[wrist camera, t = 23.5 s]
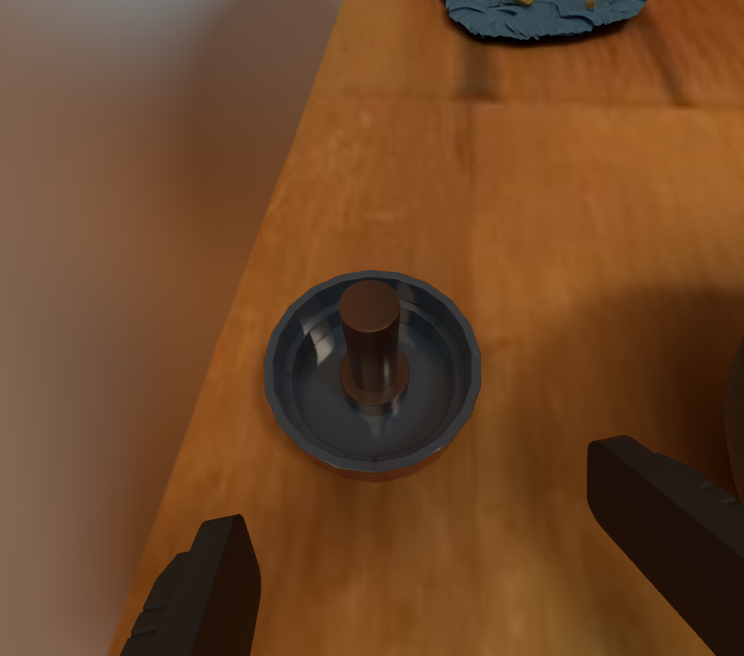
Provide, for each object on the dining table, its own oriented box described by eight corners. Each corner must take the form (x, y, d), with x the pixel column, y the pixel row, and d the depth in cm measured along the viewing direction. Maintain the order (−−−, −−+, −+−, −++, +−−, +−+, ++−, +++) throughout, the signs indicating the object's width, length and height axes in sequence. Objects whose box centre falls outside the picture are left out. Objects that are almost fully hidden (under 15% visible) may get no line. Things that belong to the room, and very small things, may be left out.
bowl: (292, 501, 25) (269, 494, 20) (279, 325, 31) (259, 288, 26) (489, 461, 26) (514, 444, 21) (437, 297, 32) (446, 256, 27)
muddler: (348, 421, 26) (326, 358, 17) (338, 360, 29) (314, 273, 19) (414, 408, 27) (430, 339, 17) (399, 349, 29) (406, 258, 19)
